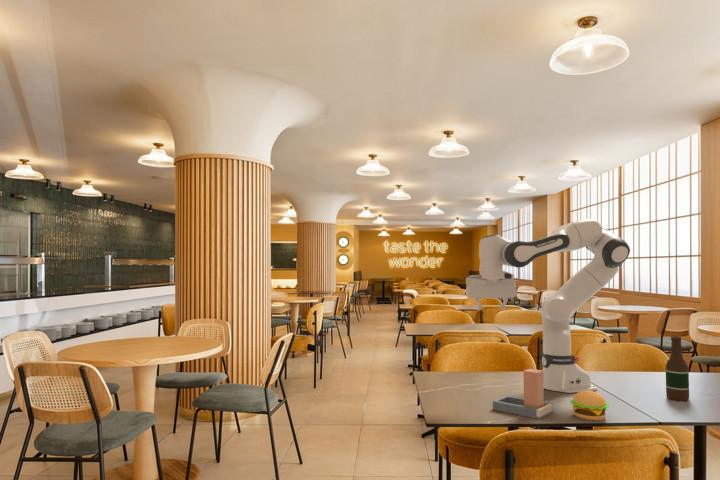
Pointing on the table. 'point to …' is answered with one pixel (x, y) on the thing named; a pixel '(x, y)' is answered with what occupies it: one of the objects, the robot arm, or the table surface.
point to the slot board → (521, 407)
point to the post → (533, 388)
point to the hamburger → (589, 405)
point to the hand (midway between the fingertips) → (491, 309)
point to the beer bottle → (677, 373)
